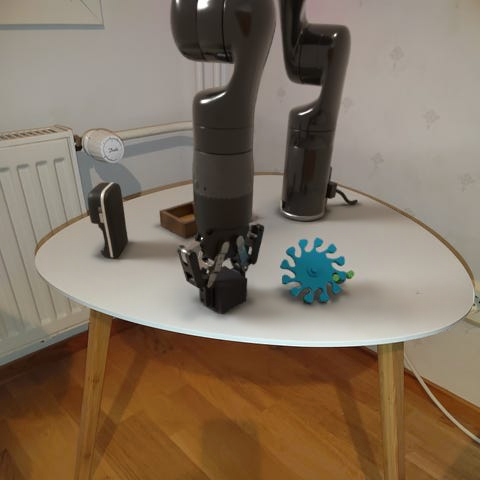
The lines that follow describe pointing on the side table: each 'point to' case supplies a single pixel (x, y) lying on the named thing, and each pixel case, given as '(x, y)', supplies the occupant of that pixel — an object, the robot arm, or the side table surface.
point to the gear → (315, 270)
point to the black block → (229, 290)
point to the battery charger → (109, 216)
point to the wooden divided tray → (180, 220)
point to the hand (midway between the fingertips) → (223, 298)
